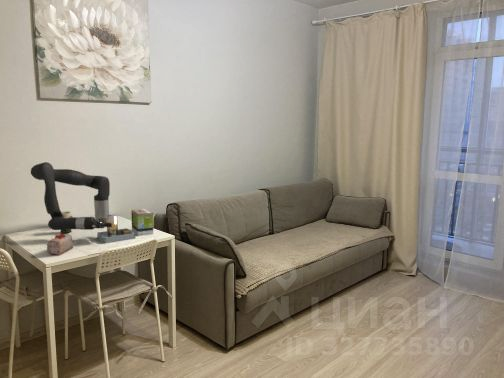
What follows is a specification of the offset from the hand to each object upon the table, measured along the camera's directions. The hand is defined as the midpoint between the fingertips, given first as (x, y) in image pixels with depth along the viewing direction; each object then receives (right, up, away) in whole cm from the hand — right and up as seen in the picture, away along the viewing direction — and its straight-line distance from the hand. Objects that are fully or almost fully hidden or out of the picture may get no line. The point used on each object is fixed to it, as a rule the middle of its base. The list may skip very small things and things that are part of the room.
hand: (113, 223), depth 244 cm
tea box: (+13, -8, +17) cm, 22 cm away
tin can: (-1, -9, +1) cm, 9 cm away
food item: (-21, -14, -21) cm, 33 cm away
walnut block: (+6, -9, +6) cm, 12 cm away
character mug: (-35, -7, +16) cm, 39 cm away
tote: (+1, -10, +3) cm, 10 cm away
